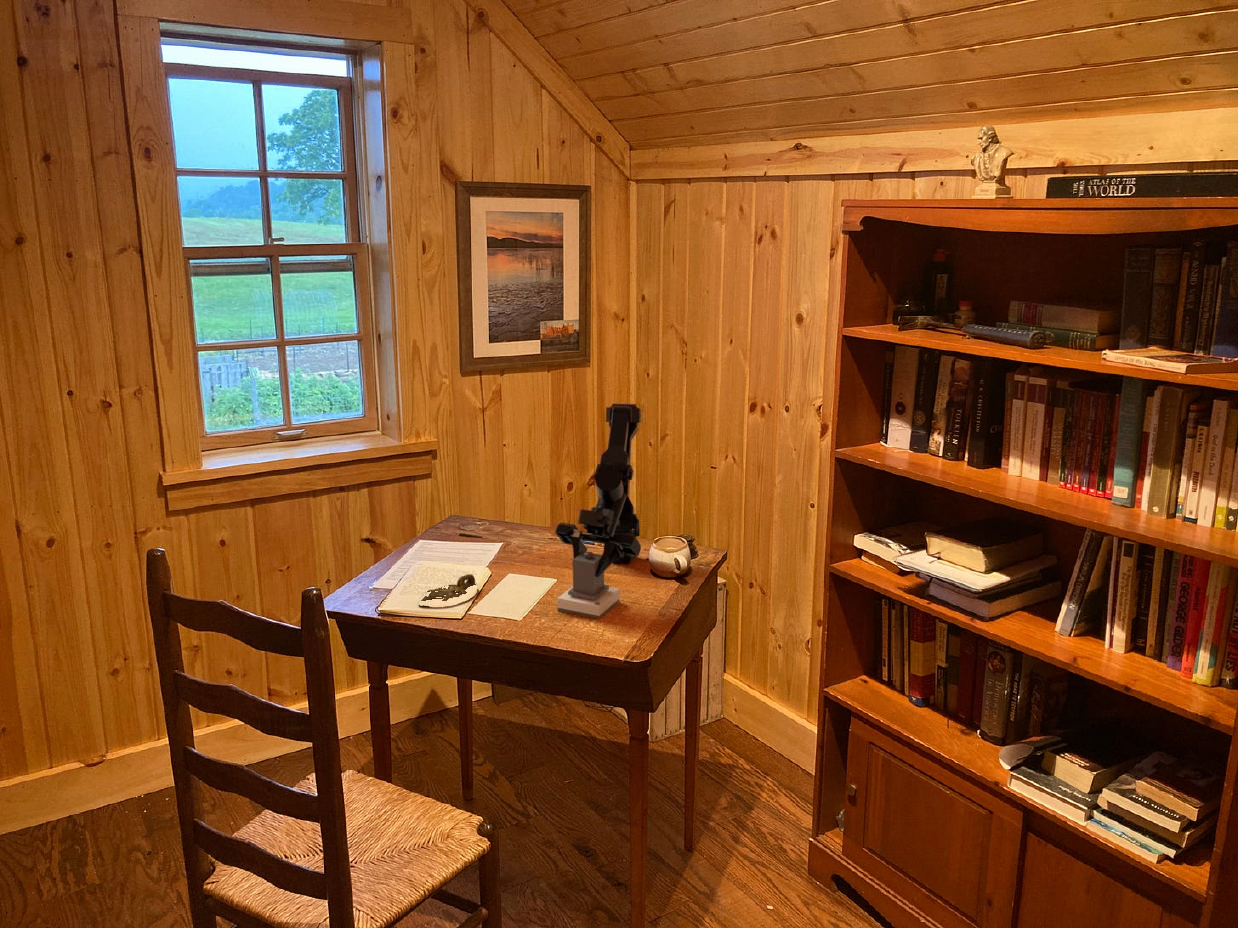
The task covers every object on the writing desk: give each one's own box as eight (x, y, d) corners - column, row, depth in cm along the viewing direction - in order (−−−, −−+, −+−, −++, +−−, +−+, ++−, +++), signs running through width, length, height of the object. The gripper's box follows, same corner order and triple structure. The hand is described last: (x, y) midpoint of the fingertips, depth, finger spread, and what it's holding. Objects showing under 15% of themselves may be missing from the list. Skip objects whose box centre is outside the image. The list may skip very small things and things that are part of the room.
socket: (579, 594, 221) (579, 580, 220) (619, 601, 217) (619, 587, 216) (557, 610, 213) (557, 596, 212) (599, 619, 209) (599, 605, 208)
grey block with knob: (582, 592, 219) (581, 545, 216) (609, 597, 216) (609, 550, 213) (568, 603, 213) (567, 555, 210) (595, 608, 210) (595, 560, 207)
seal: (432, 619, 212) (488, 598, 222) (432, 599, 210) (488, 579, 220) (408, 602, 218) (463, 582, 228) (408, 583, 216) (464, 564, 226)
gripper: (558, 487, 215) (533, 551, 209) (635, 499, 208) (613, 565, 201) (575, 511, 224) (552, 573, 218) (650, 522, 217) (629, 587, 210)
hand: (585, 574), depth 212 cm, fingers closed on grey block with knob, 5 cm apart
